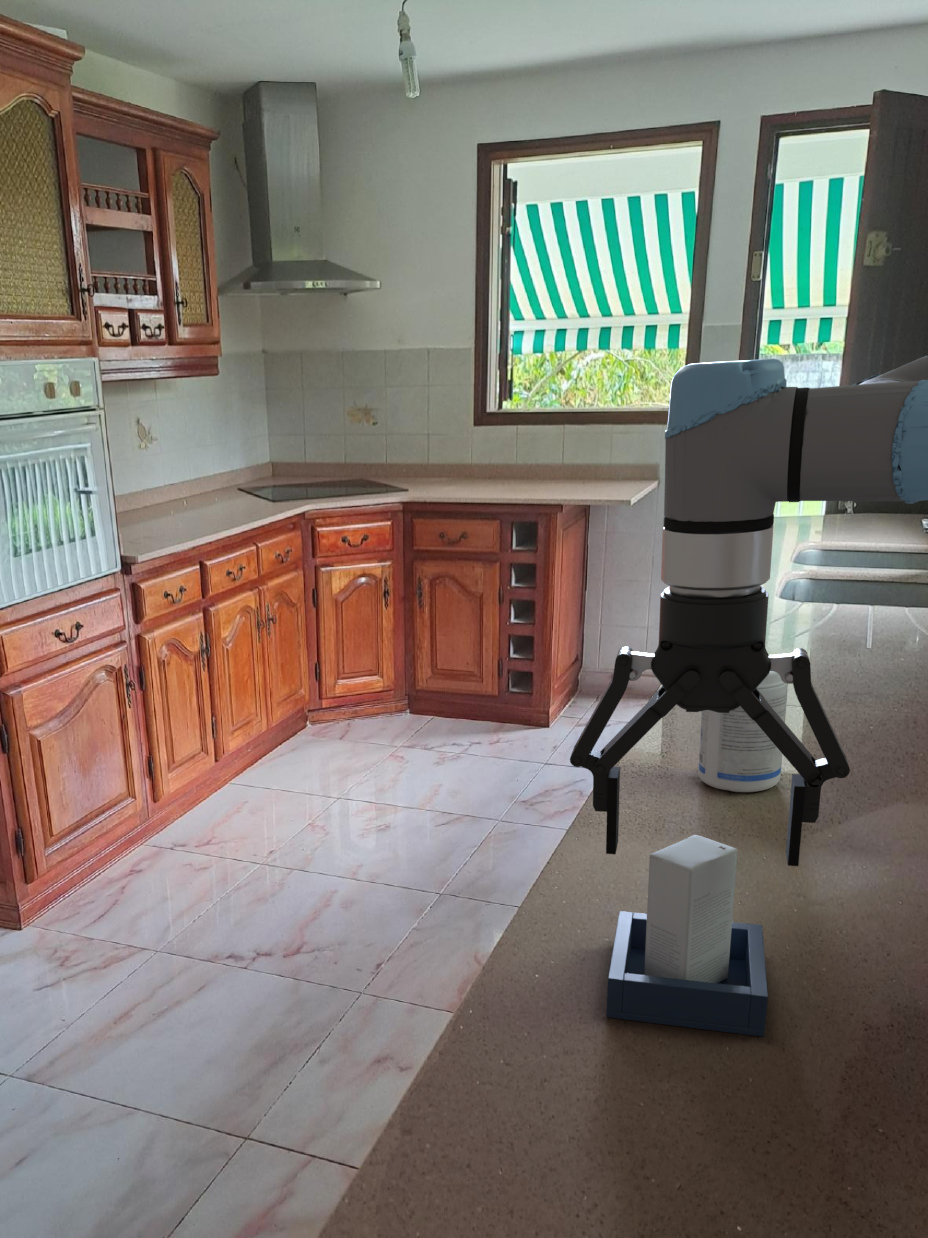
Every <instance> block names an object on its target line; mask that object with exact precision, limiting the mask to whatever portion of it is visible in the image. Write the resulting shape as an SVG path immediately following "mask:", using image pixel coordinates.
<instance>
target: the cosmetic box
mask: <svg viewBox="0 0 928 1238" xmlns="http://www.w3.org/2000/svg"><path fill="white" fill-rule="evenodd" d="M648 863H649V864H648V883H647V884H648V885H647V908H646V914H647V925H646V947H645V969H644V975H647V976H655V977H664V978H673V979H682V980H691V981H700V982H709V983H719V982H721V981H723V980H725V979H727V977H728V969H729V956H730V943H731V929H732V922H733V915H734V901H735V891H736V890H735V888H736V877H737V863H738V849H737V848H736V847H733V846H730V845H727V844H724V843H721V842H718V841H716V840H713V839H710V838H707V837H705V836H702V835H698V834H693V835H691V836H688V837H686V838H684V839H683V840H680V841H678V842H675V843H673V844H670V845H669V846H666V847H664V848H661V849H659V850H656V851H655V852H652V853H650V854H649V861H648Z"/></svg>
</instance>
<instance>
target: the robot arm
mask: <svg viewBox="0 0 928 1238" xmlns="http://www.w3.org/2000/svg"><path fill="white" fill-rule="evenodd" d="M787 381H788V380H787V379H786V377H785V366H784V363H783V362H782V360H780V359H777V358H763V359H746V360H726V361H710V362H697V363H689V364H687V365H683V366H682V367H681V368H679V369H677V371H676V373H675V374H674V375H673V377H672V380H671V382H670V391H669V404H668V416H667V426H666V430H665V432H664V440H665V452H664V497H663V499H664V500H663V501H664V502H663V503H664V504H663V528H662V538H661V539H662V541H661V570H660V579H661V581H662V583H664V584H665V585H667V586H668V587H666V588H665V589H664V590H663V591H662V592H661V593H660V597H659V598H660V601H659V602H660V603H659V623H658V624H659V625H658V626H659V627H658V644H657V645H658V646H657V648H656V649H655V651H654V653H649V652H641V651H634V650H633V648H631V647H630V646H628V645H627V646H622V647H620V648H619V649H618V651H617V655H616V657H615V660H614V668H613V675H612V678H611V680H610V682H609V683H608V685H607V687H606V689H605V690H604V692H603V694H602V696H601V698H600V700H599V702H598V703H597V705H596V707H595V708H594V710H593V712H592V714H591V716H590V718H589V719H588V721H587V723H586V725H585V727H584V728H583V730H582V731H581V733H580V736H579V737H578V739H577V740H576V743H575V744H574V746H573V749H572V751H571V753H570V758H569V763H570V764H571V766H573V767H575V768H583V769H586V770H588V771H589V772H590V773H591V774H592V779H593V781H592V807H593V810H594V812H601V813H602V812H603V813H606V831H605V832H606V833H605V834H606V835H605V837H606V838H605V839H606V840H605V844H606V845H605V854H606V855H616V854H617V850H618V843H619V830H620V829H619V827H620V826H619V822H620V791H621V789H620V785H621V766H616V765H617V764H618V763H619V762H620V761H621V760H622V759H623V758H624V757H625V756H626V755H627V754H628V752H630V750H632V749H633V748H634V747H635V746H636V745H637V744H638V743H639V742H640V741H641V740H642V739H643V738H644V736H646V734H647V733H649V731H650V730H651V729H652V728H654V726H656V724H657V723H658V722H659V721H660V720H661V719H663V718H664V717H666V716H667V715H668V714H669V713H670V712H671V711H672V710H673V708H675V707H676V706H677V707H679V708H681V709H683V710H685V712H686V713H699V712H702V711H704V710H710V711H714V712H718V713H729V712H730V711H731V710H734V709H737V708H738V707H740V706H741V707H742V709H743V710H744V711H745V712H746V713H747V714H748V716H749V717H750V718H751V719H752V720H754V721H755V722H756V723H757V724H758V726H759V727H760V728H761V729H762V730H763V731H764V733H765V734H766V735H767V736H768V737H769V739H770V740H771V741H772V742H773V743H774V744H775V746H776V747H777V748H778V749H779V750H780V751H781V753H782V756H784V758H785V759H786V760H787V761H788V762H789V763H790V765H791V766H792V767H793V768H794V769H795V771H796V772H797V773H792V774H791V783H790V795H789V809H788V821H787V831H786V833H787V834H786V845H785V856H786V862H787V866H788V867H799V863H800V862H799V861H800V854H801V853H800V852H801V840H802V830H803V829H802V828H803V823H807V824H815V823H816V822H817V820H818V818H819V815H820V803H821V794H822V786H823V785H824V783H825V782H826V781H828V780H833V779H835V778H837V779H845V778H846V777H848V776H849V774H850V772H851V769H850V765H849V762H848V759H847V756H846V753H845V752H844V749H843V747H842V745H841V743H840V741H839V739H838V737H837V735H836V732H835V730H834V729H833V726H832V724H831V722H830V720H829V718H828V715H827V713H826V711H825V709H824V706H823V704H822V702H821V700H820V697H819V696H818V694H817V692H816V689H815V688H814V685H813V683H812V671H811V661H810V657H809V654H808V651H807V650H806V649H805V648H803V647H797V648H795V649H792V651H791V652H789V653H778V654H769V653H768V651H767V648H766V640H767V627H768V626H767V625H768V624H767V623H768V611H769V610H768V609H769V595H770V594H769V593H768V591H767V590H766V588H764V587H763V586H762V585H764V584H766V583H768V581H769V580H770V579H771V569H772V557H773V555H772V554H773V553H772V552H773V541H774V540H773V539H774V529H775V528H774V527H775V526H774V523H775V507H776V503H781V502H782V503H787V502H788V503H800V502H904V503H905V504H915V503H918V502H922V501H928V355H925V356H922V357H919V358H917V359H916V360H913V361H911V362H908V363H906V364H903V365H901V366H899V367H897V368H894V369H891V370H890V371H887V372H885V373H882V374H875V375H871V376H870V377H868V378H865V379H862V380H860V381H858V382H856V383H853V384H849V385H836V386H825V387H824V386H823V387H822V386H821V387H812V388H811V387H809V386H808V387H799V386H787V383H788V382H787ZM647 670H651V672H652V673H653V675H654V677H655V678H656V679H657V680H658V682H659V683H660V685H661V686H660V687H659V689H657V691H655V693H654V694H653V695H652V696H651V698H650V699H649V700H648V702H646V704H645V705H644V706H642V707H641V709H639V710H638V712H637V713H636V714H634V716H633V717H632V718H631V719H630V720H629V721H628V722H627V723H626V724H625V725H624V726H623V727H622V728H621V729H620V730H619V731H618V733H616V734H615V735H614V737H612V738H611V739H610V740H609V742H608V743H606V745H605V746H604V747H603V748H602V749H601V750H595V749H594V748H595V746H596V744H597V742H598V741H599V739H600V737H601V735H602V734H603V732H604V731H605V728H606V727H607V724H608V723H609V721H610V719H611V718H612V716H613V714H614V712H615V711H616V709H617V707H618V705H619V703H620V702H621V700H622V698H623V697H624V695H625V693H626V690H627V688H628V685H629V682H634V681H638V680H639V679H640V678H641V676H642V675H643V672H645V671H647ZM770 671H775V672H777V673H778V674H779V675H780V677H781V680H782V681H783V682H784V683H787V684H788V685H790V684H792V686H793V690H794V693H795V697H796V699H797V701H798V703H799V705H800V707H801V710H802V711H803V713H804V715H805V718H806V720H807V722H808V724H809V726H810V728H811V730H812V733H813V734H814V735H813V736H814V737H815V740H816V741H817V743H818V746H819V748H820V749H821V752H822V754H823V756H824V758H819V759H816V758H815V756H813V754H812V753H811V752H810V751H809V750H808V748H807V747H806V746H805V745H804V744H803V742H802V741H801V740H800V739H799V738H798V736H797V735H796V734H795V733H794V732H793V730H791V728H790V727H789V725H787V723H786V722H785V723H784V721H783V720H782V719H781V718H780V717H779V716H778V714H777V713H776V712H775V711H774V710H773V708H772V707H771V706H770V705H769V704H768V702H767V701H766V700H765V698H764V696H763V695H762V694H761V693H760V692H759V690H758V689H757V687H758V686H759V685H760V683H761V682H762V681H763V680H764V679H765V678H766V677H767V675H768V674H769V672H770Z"/></svg>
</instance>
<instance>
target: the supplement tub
mask: <svg viewBox="0 0 928 1238" xmlns="http://www.w3.org/2000/svg"><path fill="white" fill-rule="evenodd" d="M788 687H789V684H787V683H784V682H783V681H782V680H781V677H780V675H779V674H778V673H777V672H775V671H770V672H769V674H768V675H767V677H766V678H765V679H764V680H763V681H762V682H761V683H760V685H759V686H758V687H757V689H758V690H759V692H760V693H761V694H762V695H763V696H764V698H765V700H766V701H767V702H768V704H769V705H770V706H771V707H772V708H773V710H774V711H775V712H776V713H777V714H778V716H779V717H780V718H781V719H782V720H783V721H784V723H785V724H786V716H787V715H786V713H787V703H788ZM700 712H701V713H700V714H701V716H700V732H699V733H700V735H699V750H698V751H699V753H698V770H697V771H698V777H699V778H700V780H701V781H702V782H703V783H704V784H705V785H707V786H710V787H712V788H714V789H718V790H720V791H721V790H722V791H729V792H734V793H754V792H762V791H765V790H768V789H772V788H773V787H775V786H776V785H777V784H778V783H779V781H780V780H781V775H782V764H783V763H782V762H783V754H782V753H781V751H780V750H779V749H778V748H777V747H776V746H775V744H774V743H773V742H772V741H771V740H770V739H769V737H768V736H767V735H766V734H765V733H764V731H763V730H762V729H761V728H760V727H759V726H758V724H757V723H756V722H755V721H754V720H752V719H751V718H750V717H749V716H748V714H747V713H746V712H745V711H744V710H743V709H742V707H741V706H740V707H738V708H737V709H734V710H731V711H730V712H729V713H718V712H714V711H710V710H704V711H700Z"/></svg>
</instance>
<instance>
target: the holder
mask: <svg viewBox="0 0 928 1238" xmlns="http://www.w3.org/2000/svg"><path fill="white" fill-rule="evenodd" d="M646 925H647V913H642V912H633V911H624V910H623V911H622V910H620V911H619V912H618V917H617V922H616V928H615V935H614V941H613V947H612V951H611V952H612V953H611V958H610V963H609V969H608V976H607V988H606V989H607V990H606V991H607V992H606V1011H605V1012H606V1014H605V1016H606V1018H608V1019H618V1020H625V1021H632V1022H633V1021H634V1022H643V1023H650V1024H659V1025H667V1026H675V1027H681V1028H688V1029H689V1028H690V1029H698V1030H705V1031H712V1032H713V1031H714V1032H720V1033H721V1032H722V1033H731V1034H738V1035H739V1034H740V1035H746V1036H754V1037H761V1038H762V1037H763V1038H764V1037H765V1031H766V1021H767V1012H768V1011H767V1010H768V1002H769V993H768V992H769V991H768V979H767V967H766V957H765V956H766V954H765V944H764V943H765V942H764V929H763V925H762V924H758V923H746V922H737V921H732V929H731V943H730V956H729V969H728V977H727V979H725V980H723V981H721V982H719V983H709V982H700V981H691V980H682V979H673V978H664V977H655V976H647V975H644V969H645V947H646Z"/></svg>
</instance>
